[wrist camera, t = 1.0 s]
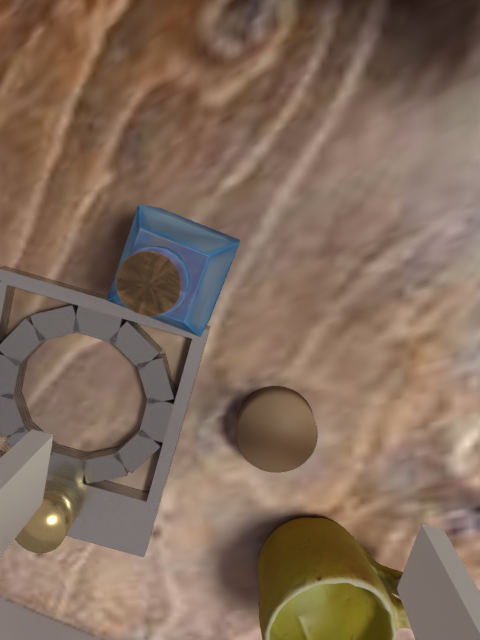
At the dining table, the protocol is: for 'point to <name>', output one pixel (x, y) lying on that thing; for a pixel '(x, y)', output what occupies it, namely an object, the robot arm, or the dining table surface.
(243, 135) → the dining table surface
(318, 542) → the mug
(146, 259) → the perfume bottle
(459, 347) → the dining table surface
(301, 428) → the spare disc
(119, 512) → the plate
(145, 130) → the dining table surface
